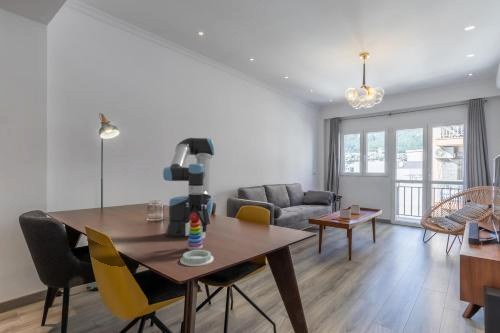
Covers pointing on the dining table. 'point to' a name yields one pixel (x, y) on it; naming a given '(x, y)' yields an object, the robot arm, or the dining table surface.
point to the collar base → (196, 258)
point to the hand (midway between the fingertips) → (195, 236)
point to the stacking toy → (194, 233)
